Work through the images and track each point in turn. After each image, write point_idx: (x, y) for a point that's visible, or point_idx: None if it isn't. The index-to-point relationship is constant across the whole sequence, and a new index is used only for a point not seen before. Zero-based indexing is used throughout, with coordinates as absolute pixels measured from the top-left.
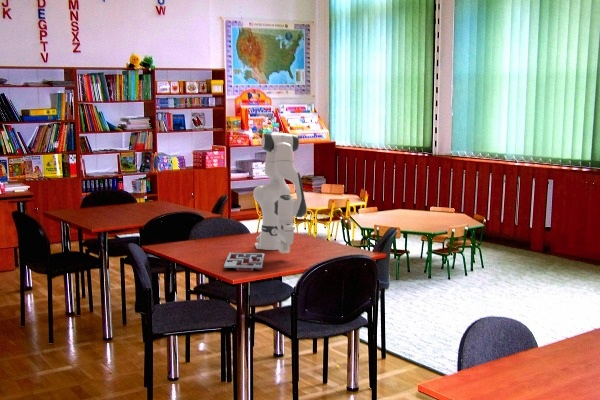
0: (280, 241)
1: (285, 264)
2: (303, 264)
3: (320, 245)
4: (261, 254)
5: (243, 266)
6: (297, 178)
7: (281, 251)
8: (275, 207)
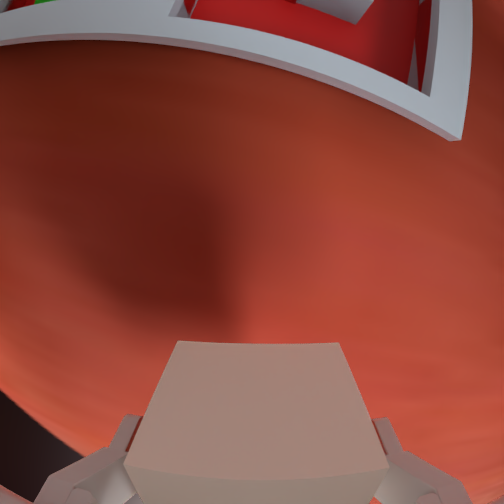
0: (455, 482)
1: (40, 284)
2: (55, 412)
3: (498, 496)
4: (427, 86)
5: None
6: None
7: (169, 363)
8: None
